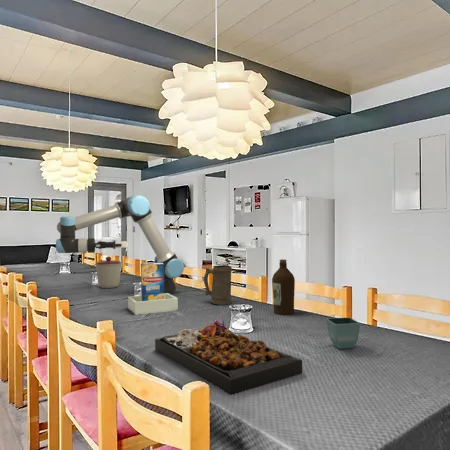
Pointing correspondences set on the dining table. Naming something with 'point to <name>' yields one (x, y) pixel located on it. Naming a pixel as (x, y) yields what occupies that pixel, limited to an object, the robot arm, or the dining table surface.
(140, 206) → the robot arm
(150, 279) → the beverage box
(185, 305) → the dining table surface
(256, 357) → the food platter
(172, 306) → the box
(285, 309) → the brown bottle
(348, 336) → the flower pot
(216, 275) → the beer stein
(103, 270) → the canister
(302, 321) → the dining table surface
